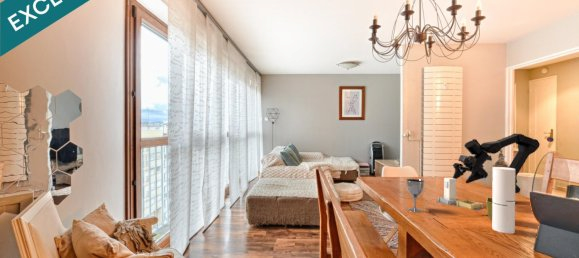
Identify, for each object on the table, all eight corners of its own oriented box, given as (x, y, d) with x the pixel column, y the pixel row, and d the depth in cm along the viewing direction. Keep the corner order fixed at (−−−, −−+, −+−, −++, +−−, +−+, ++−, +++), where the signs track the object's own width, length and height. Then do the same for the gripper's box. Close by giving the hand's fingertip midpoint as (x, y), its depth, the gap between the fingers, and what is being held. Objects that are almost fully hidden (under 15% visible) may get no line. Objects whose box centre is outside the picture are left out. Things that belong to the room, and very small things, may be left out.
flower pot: (511, 226, 113) (511, 204, 113) (486, 221, 118) (486, 201, 118) (510, 220, 120) (510, 200, 120) (486, 216, 125) (486, 197, 125)
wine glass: (420, 208, 138) (420, 178, 138) (426, 213, 130) (426, 182, 130) (404, 207, 139) (404, 178, 139) (409, 212, 131) (409, 181, 131)
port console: (443, 200, 153) (443, 194, 153) (485, 208, 138) (485, 202, 138) (434, 203, 145) (434, 198, 145) (478, 212, 130) (478, 206, 130)
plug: (450, 201, 147) (450, 177, 147) (456, 203, 143) (456, 179, 143) (443, 201, 147) (443, 177, 146) (448, 203, 143) (448, 179, 142)
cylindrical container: (519, 234, 104) (519, 169, 104) (498, 232, 106) (498, 169, 105) (508, 227, 111) (508, 167, 111) (488, 226, 113) (489, 166, 112)
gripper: (455, 148, 155) (438, 168, 154) (483, 151, 137) (463, 173, 136) (468, 162, 157) (450, 181, 155) (496, 167, 138) (477, 188, 137)
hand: (459, 181), depth 146 cm, fingers open, 9 cm apart
